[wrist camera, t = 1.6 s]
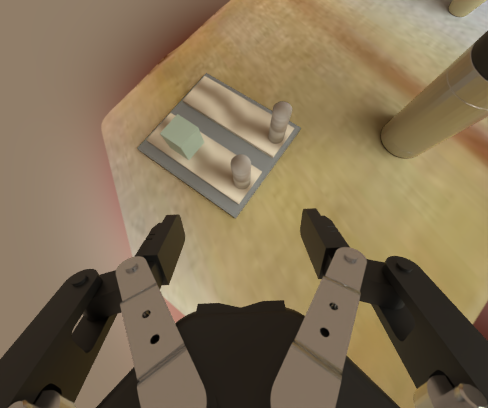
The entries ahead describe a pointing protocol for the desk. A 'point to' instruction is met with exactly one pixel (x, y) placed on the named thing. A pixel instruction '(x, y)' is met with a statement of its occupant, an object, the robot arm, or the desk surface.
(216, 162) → the block strip
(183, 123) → the sage block
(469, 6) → the mug
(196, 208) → the desk surface
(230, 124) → the empty strip
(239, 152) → the lane board
